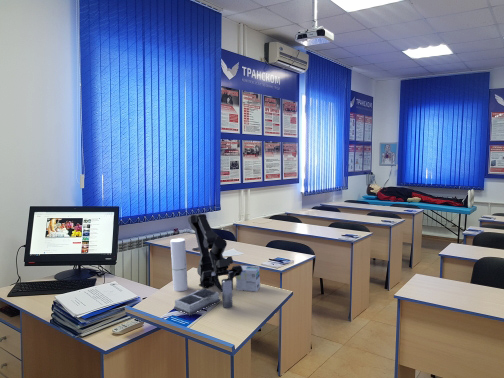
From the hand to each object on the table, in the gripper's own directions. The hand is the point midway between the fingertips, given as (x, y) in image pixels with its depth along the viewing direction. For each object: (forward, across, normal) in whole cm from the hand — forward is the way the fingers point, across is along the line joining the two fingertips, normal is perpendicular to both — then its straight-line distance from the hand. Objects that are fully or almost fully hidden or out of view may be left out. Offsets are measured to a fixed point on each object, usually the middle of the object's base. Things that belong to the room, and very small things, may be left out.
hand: (227, 290), depth 165 cm
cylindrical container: (-17, -14, +27) cm, 35 cm away
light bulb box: (-5, +16, +15) cm, 23 cm away
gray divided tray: (0, -11, +11) cm, 16 cm away
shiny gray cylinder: (+5, 0, +5) cm, 7 cm away
